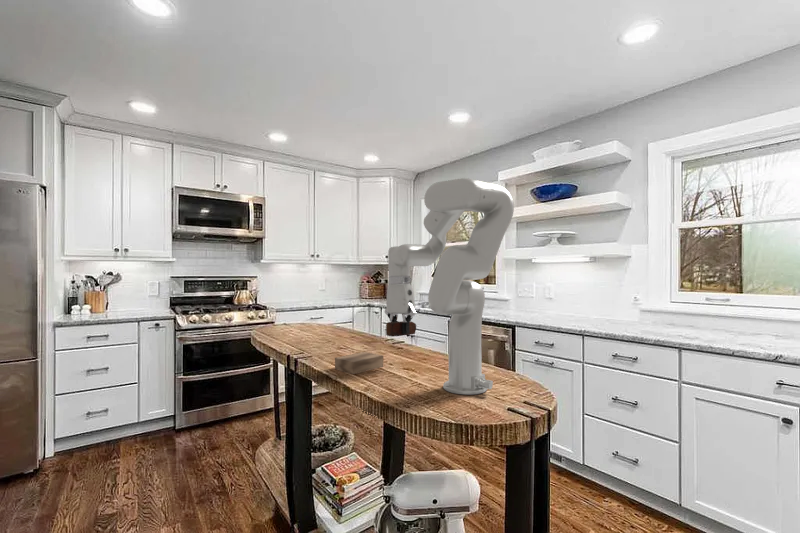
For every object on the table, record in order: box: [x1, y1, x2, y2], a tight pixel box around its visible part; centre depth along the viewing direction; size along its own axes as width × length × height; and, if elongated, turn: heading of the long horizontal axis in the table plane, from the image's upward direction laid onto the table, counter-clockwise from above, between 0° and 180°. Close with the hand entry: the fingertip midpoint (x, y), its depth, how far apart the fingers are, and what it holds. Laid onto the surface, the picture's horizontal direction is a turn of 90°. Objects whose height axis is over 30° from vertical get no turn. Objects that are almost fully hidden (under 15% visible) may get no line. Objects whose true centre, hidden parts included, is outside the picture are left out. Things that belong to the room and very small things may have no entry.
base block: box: [334, 351, 384, 375], centre depth 144 cm, size 10×14×4 cm
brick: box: [385, 320, 417, 337], centre depth 143 cm, size 11×4×5 cm, turn 127°
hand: (400, 332), depth 142 cm, fingers closed on brick, 4 cm apart
